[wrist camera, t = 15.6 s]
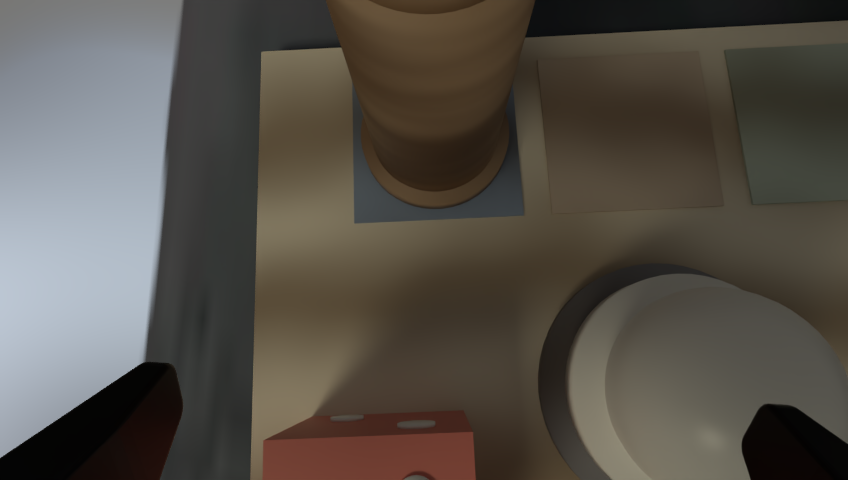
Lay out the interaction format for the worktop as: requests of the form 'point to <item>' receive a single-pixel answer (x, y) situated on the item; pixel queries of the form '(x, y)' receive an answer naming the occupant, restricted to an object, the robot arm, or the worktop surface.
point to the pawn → (433, 90)
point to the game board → (543, 227)
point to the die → (373, 448)
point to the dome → (693, 377)
